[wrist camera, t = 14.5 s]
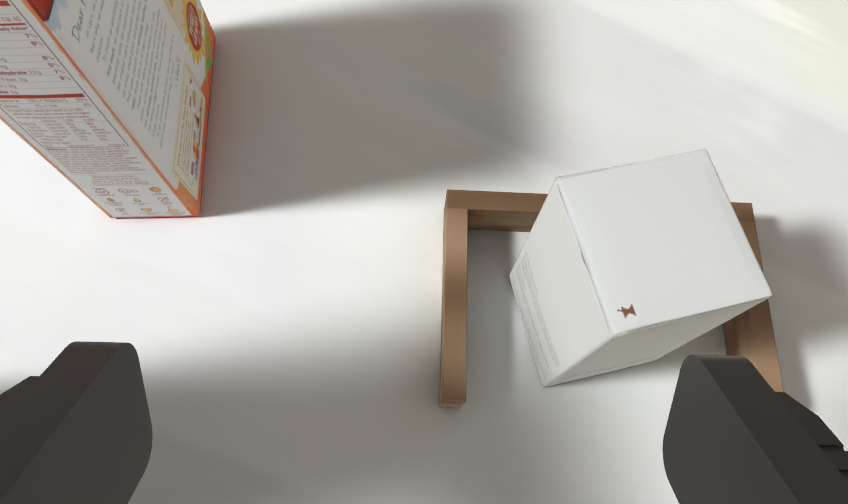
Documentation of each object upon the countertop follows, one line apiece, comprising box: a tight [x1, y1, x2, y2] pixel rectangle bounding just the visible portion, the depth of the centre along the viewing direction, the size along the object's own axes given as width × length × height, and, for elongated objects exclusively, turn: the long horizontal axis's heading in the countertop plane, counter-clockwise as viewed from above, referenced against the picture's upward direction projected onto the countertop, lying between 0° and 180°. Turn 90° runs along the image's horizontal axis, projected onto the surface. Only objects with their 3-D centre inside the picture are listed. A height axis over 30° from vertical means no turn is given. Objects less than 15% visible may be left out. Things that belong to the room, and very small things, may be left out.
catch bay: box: [440, 190, 783, 408], centre depth 37 cm, size 12×18×3 cm
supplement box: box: [509, 149, 772, 387], centre depth 32 cm, size 7×7×13 cm
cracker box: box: [0, 0, 215, 218], centre depth 32 cm, size 14×6×21 cm, turn 2°
